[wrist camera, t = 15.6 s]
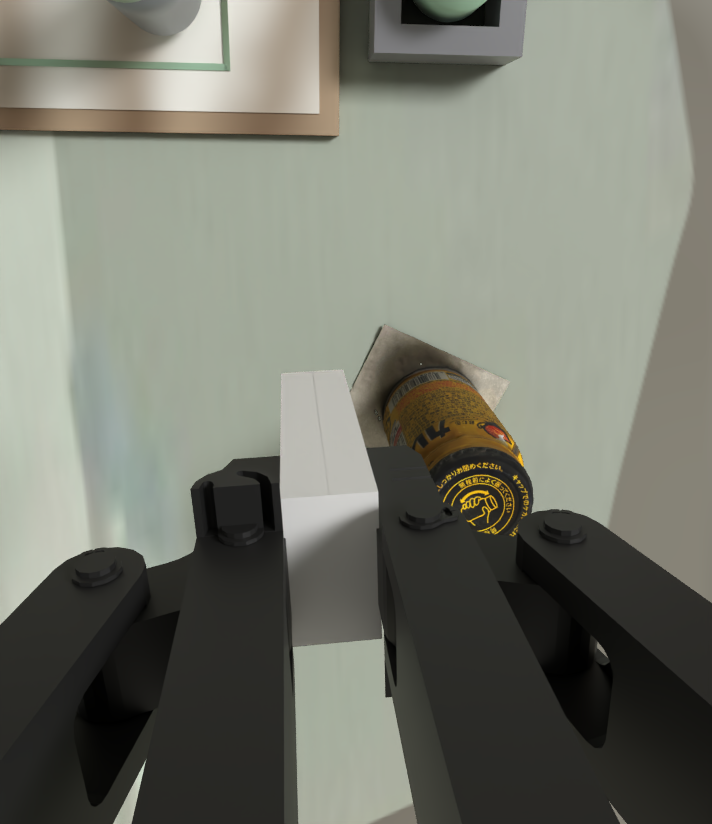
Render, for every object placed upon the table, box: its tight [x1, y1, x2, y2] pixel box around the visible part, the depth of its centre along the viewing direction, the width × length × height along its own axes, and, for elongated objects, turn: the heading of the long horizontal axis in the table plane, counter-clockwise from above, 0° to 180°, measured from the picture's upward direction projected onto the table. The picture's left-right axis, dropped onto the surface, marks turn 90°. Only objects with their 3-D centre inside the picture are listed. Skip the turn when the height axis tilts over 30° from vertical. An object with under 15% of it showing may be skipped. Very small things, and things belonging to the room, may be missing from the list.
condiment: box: [350, 325, 533, 536], centre depth 35 cm, size 7×8×12 cm
